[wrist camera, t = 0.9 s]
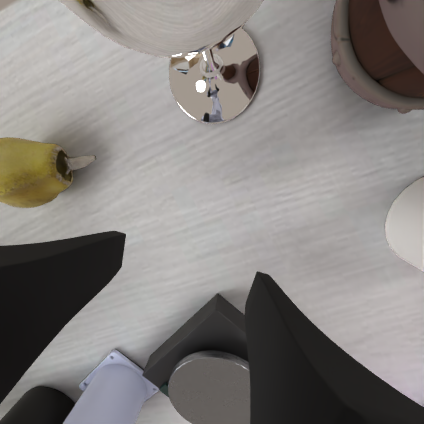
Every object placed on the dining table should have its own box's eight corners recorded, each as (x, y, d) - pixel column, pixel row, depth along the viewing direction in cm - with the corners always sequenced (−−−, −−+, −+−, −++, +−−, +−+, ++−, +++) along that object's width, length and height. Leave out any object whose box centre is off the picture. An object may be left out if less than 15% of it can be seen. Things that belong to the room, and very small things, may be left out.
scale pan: (221, 436, 22) (220, 446, 21) (152, 383, 21) (149, 392, 21) (288, 394, 19) (290, 403, 19) (212, 332, 19) (211, 339, 18)
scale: (221, 409, 26) (219, 438, 23) (150, 355, 25) (140, 378, 22) (296, 358, 23) (305, 385, 20) (217, 292, 22) (215, 311, 19)
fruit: (114, 187, 20) (26, 218, 21) (99, 134, 21) (13, 165, 21) (69, 171, 14) (-53, 215, 15) (50, 98, 15) (-67, 142, 15)
